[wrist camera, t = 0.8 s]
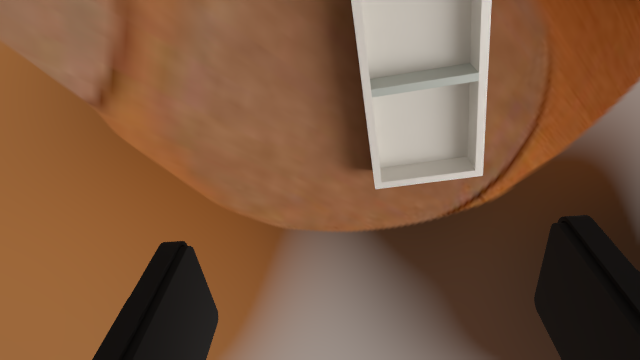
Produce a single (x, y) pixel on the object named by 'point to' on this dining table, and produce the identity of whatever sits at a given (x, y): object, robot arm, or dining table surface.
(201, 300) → the robot arm
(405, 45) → the white divided tray
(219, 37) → the dining table surface
